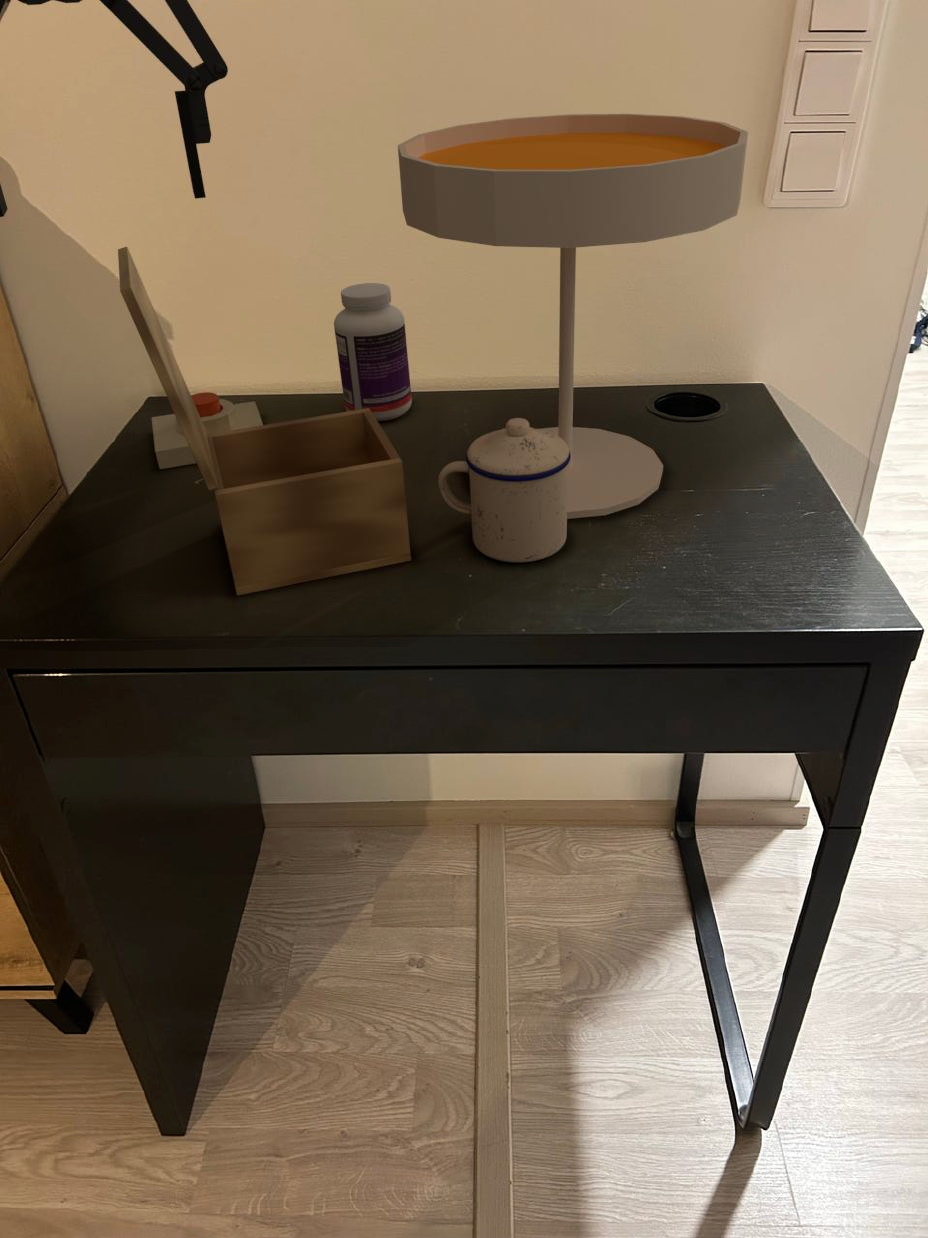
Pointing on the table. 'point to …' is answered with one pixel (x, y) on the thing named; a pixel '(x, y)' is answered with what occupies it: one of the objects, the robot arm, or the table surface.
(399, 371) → the pill bottle
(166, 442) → the button box
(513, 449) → the teacup with lid
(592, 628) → the table surface
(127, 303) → the wooden box lid
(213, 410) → the button
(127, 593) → the table surface
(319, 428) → the lid box
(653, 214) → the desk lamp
